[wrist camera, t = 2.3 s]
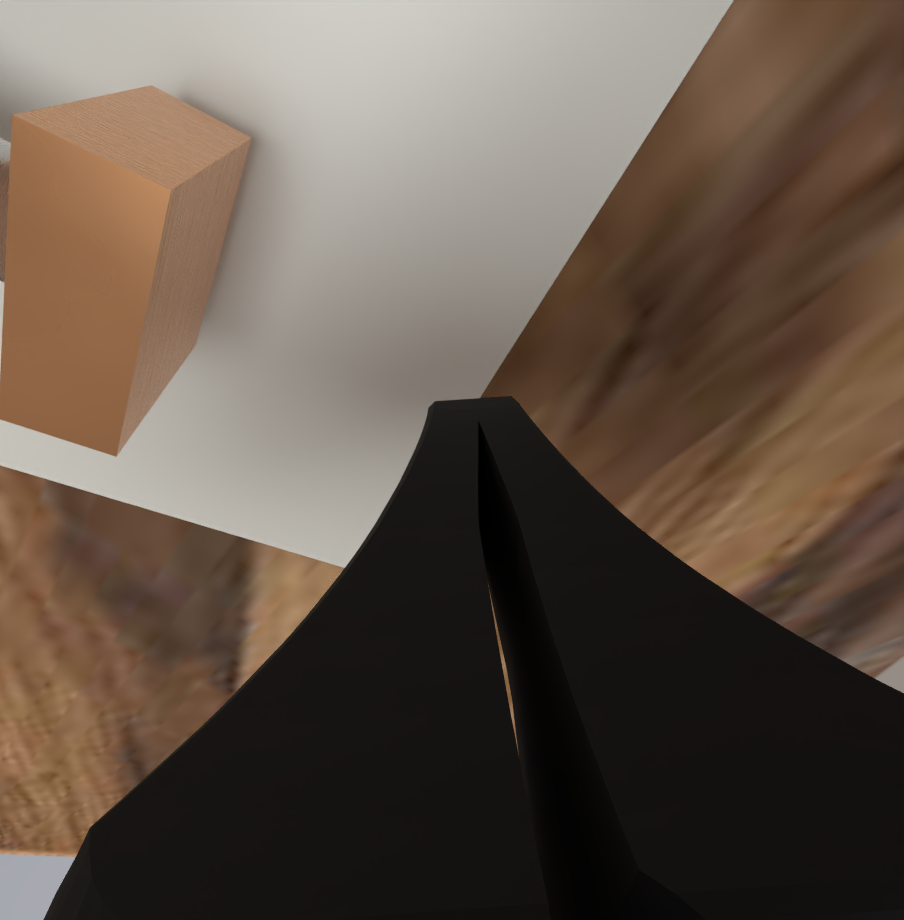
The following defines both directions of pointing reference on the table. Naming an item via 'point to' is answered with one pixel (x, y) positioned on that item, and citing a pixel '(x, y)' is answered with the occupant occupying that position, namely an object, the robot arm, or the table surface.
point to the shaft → (108, 256)
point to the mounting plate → (352, 224)
